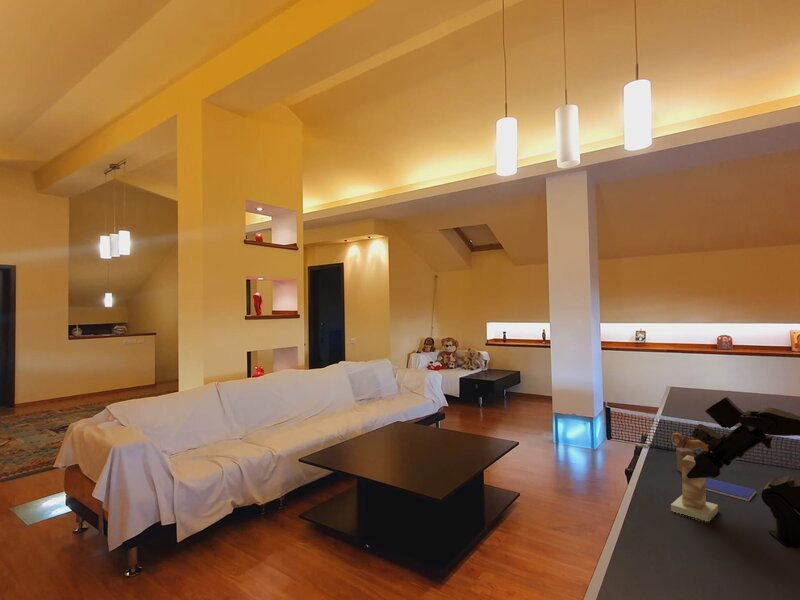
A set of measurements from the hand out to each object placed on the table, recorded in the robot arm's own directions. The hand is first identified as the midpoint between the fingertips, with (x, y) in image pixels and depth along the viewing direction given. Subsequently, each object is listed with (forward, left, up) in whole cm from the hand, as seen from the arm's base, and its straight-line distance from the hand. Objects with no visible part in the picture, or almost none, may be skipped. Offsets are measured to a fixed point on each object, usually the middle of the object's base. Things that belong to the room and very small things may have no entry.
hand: (692, 472), depth 122 cm
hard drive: (+15, -16, -12) cm, 25 cm away
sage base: (0, 0, -12) cm, 12 cm away
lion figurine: (+44, -19, -12) cm, 49 cm away
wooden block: (+29, -10, -12) cm, 33 cm away
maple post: (0, 0, -9) cm, 9 cm away
